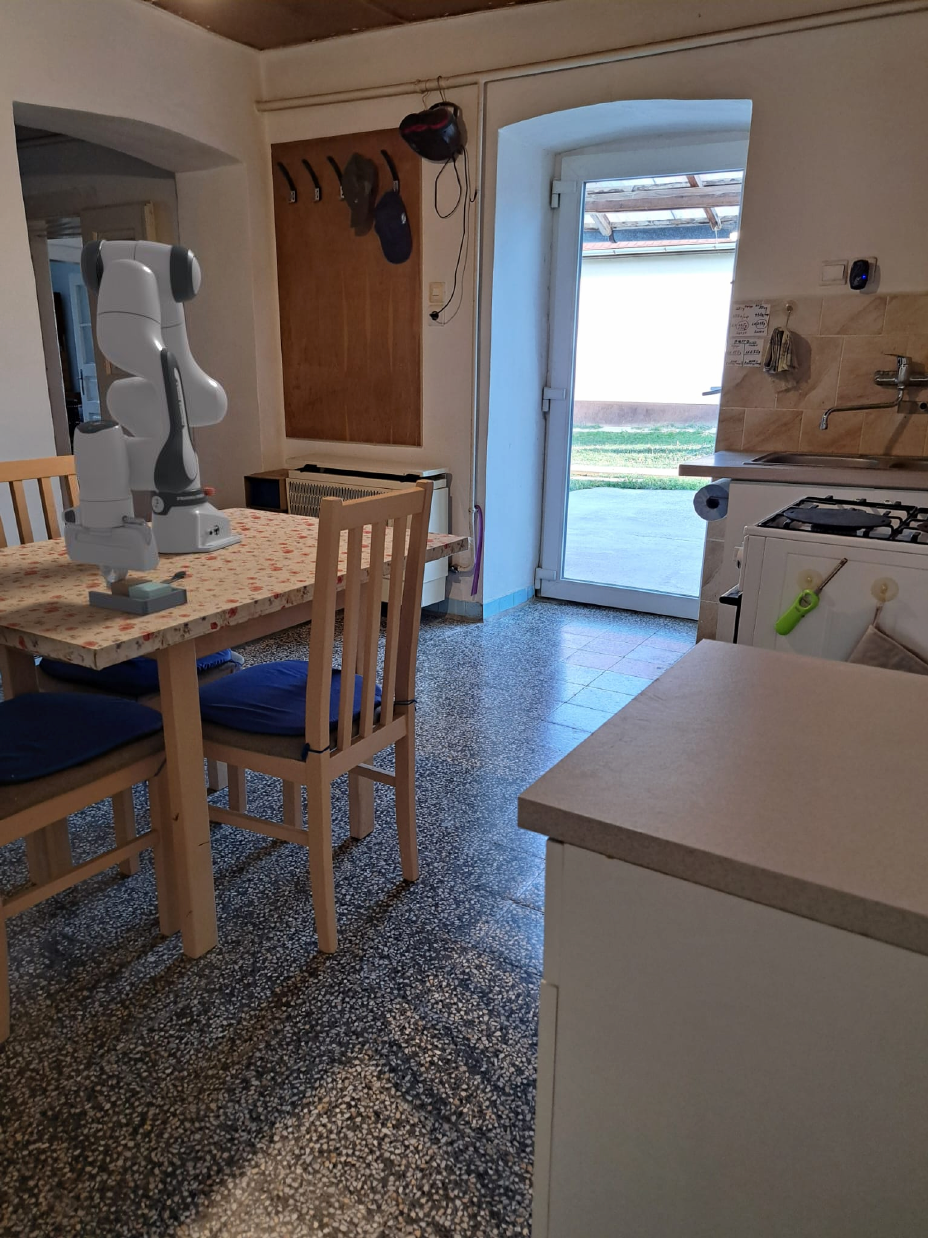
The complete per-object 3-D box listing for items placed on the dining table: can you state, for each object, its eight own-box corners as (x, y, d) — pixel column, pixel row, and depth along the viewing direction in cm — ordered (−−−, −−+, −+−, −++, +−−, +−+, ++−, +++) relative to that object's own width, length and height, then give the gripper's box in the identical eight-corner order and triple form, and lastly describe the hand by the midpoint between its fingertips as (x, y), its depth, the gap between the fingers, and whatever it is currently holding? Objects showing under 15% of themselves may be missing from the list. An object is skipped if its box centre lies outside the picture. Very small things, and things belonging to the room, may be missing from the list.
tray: (133, 593, 159) (132, 580, 158) (187, 602, 153) (186, 589, 152) (89, 605, 151) (88, 591, 150) (144, 615, 145) (143, 601, 144)
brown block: (135, 598, 156) (132, 576, 155) (154, 601, 154) (152, 580, 152) (112, 604, 152) (110, 582, 150) (132, 607, 149) (130, 586, 148)
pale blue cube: (152, 602, 153) (150, 581, 152) (173, 606, 151) (171, 584, 150) (130, 609, 149) (128, 587, 148) (151, 613, 147) (148, 590, 146)
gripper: (163, 516, 148) (170, 593, 152) (84, 507, 157) (93, 579, 161) (134, 521, 142) (142, 600, 146) (54, 512, 152) (64, 586, 156)
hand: (116, 589), depth 154 cm, fingers closed
